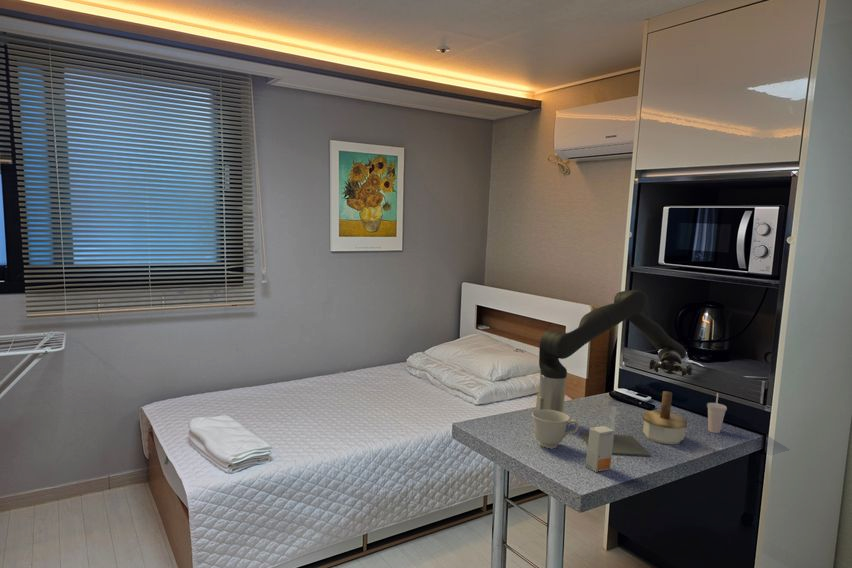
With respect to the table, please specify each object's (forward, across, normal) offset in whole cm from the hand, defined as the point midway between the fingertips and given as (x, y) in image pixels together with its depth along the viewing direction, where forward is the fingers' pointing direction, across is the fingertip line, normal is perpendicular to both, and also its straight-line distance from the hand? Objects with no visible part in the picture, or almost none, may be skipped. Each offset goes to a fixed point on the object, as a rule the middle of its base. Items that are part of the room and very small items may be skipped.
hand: (670, 371), depth 199 cm
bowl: (+10, 0, +21) cm, 24 cm away
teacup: (+39, -32, +21) cm, 55 cm away
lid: (+10, 0, +15) cm, 18 cm away
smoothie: (-8, +16, +22) cm, 28 cm away
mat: (+27, -14, +21) cm, 37 cm away
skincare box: (+49, -16, +21) cm, 56 cm away
